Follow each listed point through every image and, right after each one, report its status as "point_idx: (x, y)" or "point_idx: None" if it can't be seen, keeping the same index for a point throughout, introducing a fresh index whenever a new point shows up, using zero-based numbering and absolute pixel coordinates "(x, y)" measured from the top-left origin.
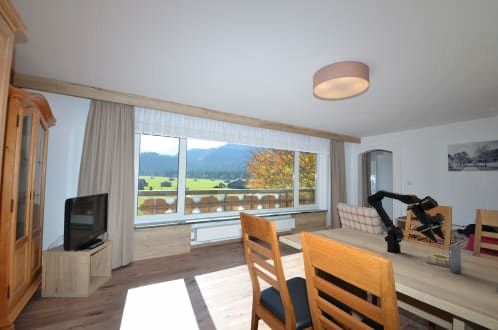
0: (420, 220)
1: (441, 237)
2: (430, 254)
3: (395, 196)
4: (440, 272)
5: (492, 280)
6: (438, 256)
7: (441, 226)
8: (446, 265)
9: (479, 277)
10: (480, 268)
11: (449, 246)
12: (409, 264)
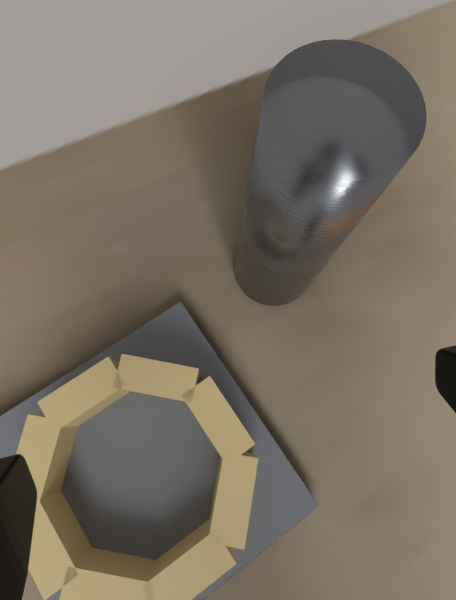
0: None
1: (16, 548)
2: (176, 596)
3: None
4: (396, 307)
5: (152, 117)
6: (79, 550)
7: None
8: (224, 366)
9: (182, 168)
10: None
11: (415, 146)
12: None
